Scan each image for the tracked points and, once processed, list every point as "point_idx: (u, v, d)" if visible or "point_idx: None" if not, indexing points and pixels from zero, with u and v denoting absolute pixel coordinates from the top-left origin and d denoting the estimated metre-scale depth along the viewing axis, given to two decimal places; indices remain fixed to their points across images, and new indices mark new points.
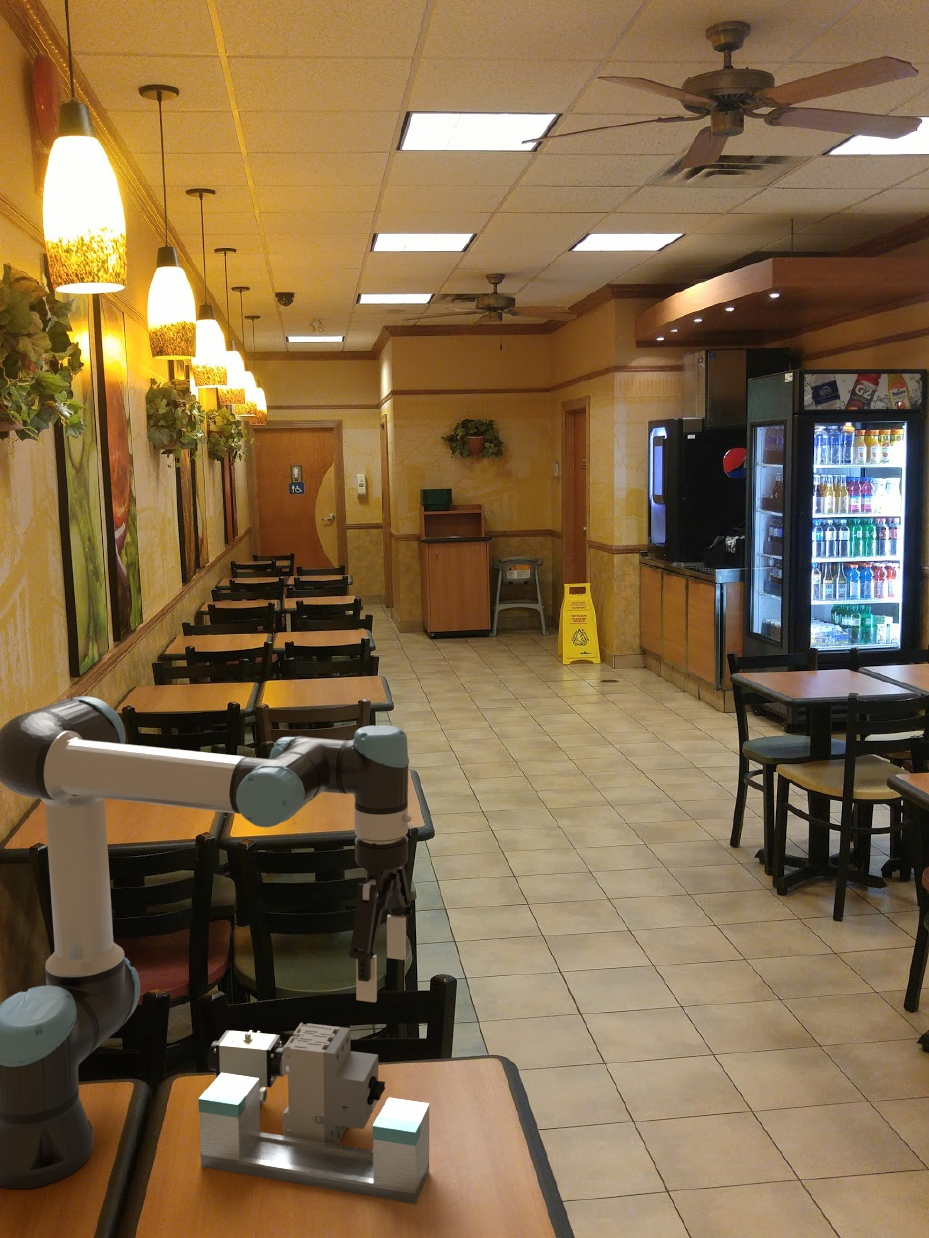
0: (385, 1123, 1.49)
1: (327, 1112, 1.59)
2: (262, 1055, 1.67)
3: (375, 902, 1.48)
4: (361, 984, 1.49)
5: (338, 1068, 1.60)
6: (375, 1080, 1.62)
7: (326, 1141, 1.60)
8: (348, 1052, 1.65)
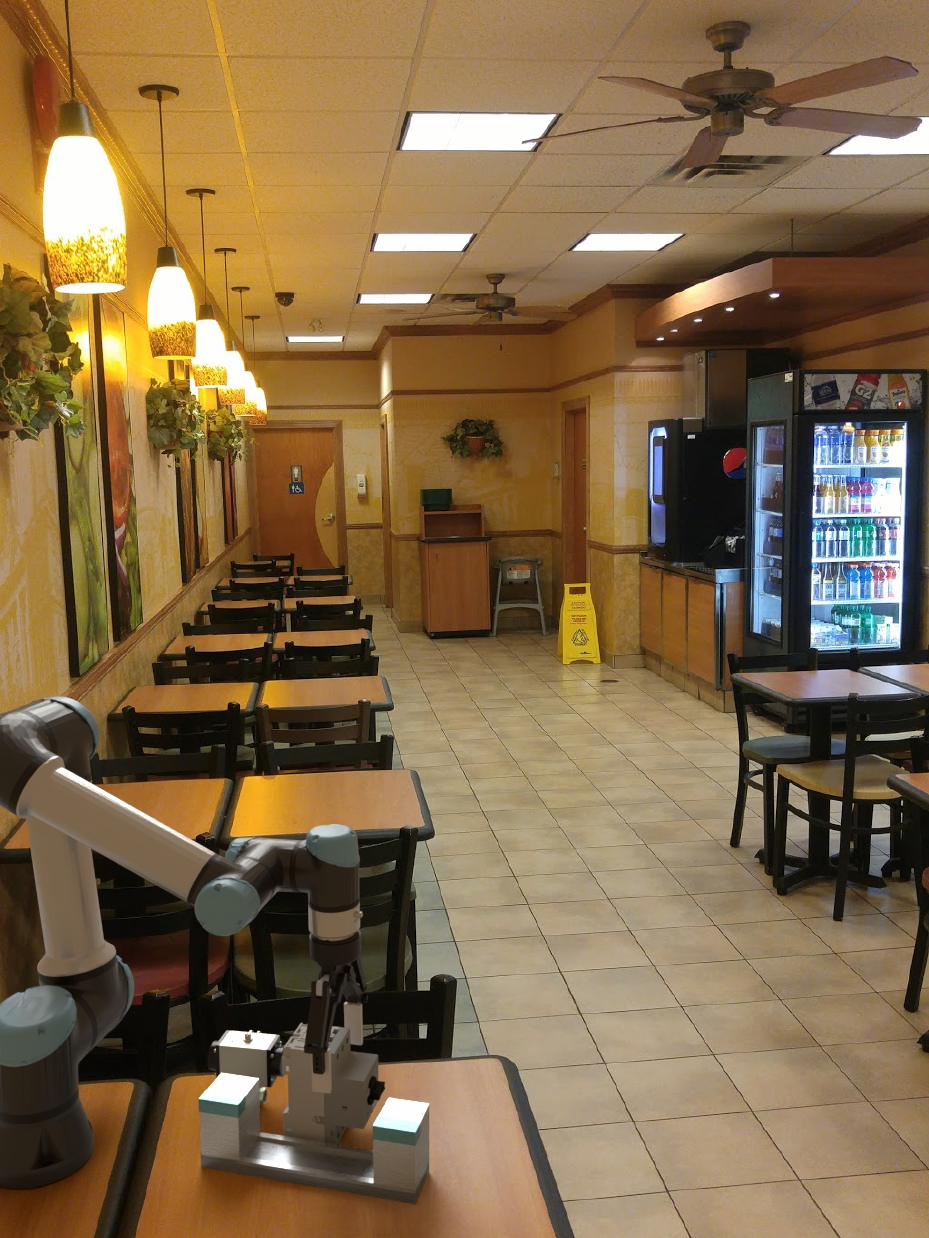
0: (385, 1123, 1.49)
1: (327, 1112, 1.59)
2: (262, 1055, 1.67)
3: (328, 998, 1.54)
4: (316, 1076, 1.55)
5: (338, 1068, 1.60)
6: (375, 1080, 1.62)
7: (326, 1141, 1.60)
8: (348, 1052, 1.65)
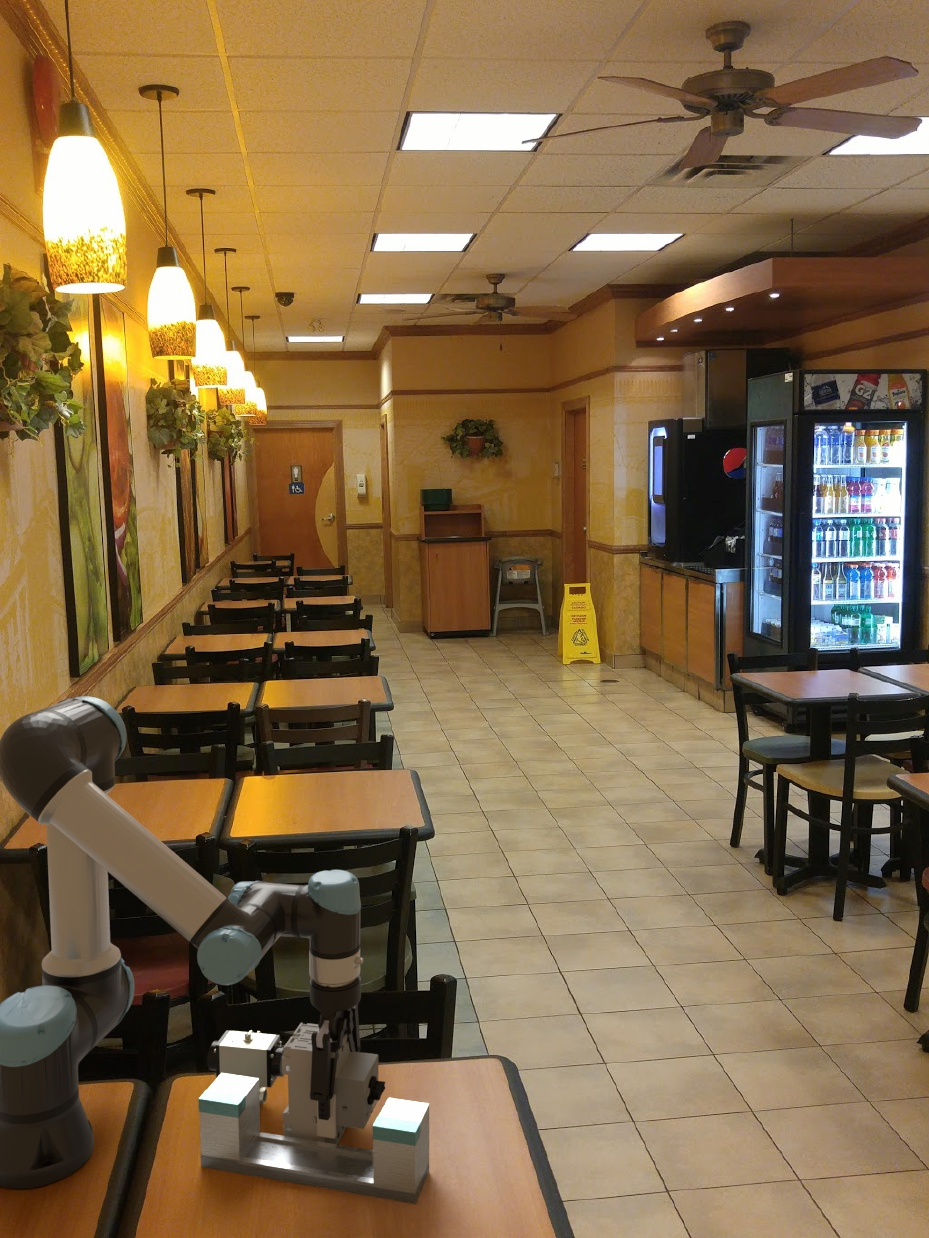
0: (385, 1123, 1.49)
1: None
2: (262, 1055, 1.67)
3: (329, 1048, 1.56)
4: (321, 1122, 1.59)
5: (338, 1068, 1.60)
6: (375, 1080, 1.62)
7: (326, 1141, 1.60)
8: (348, 1052, 1.65)
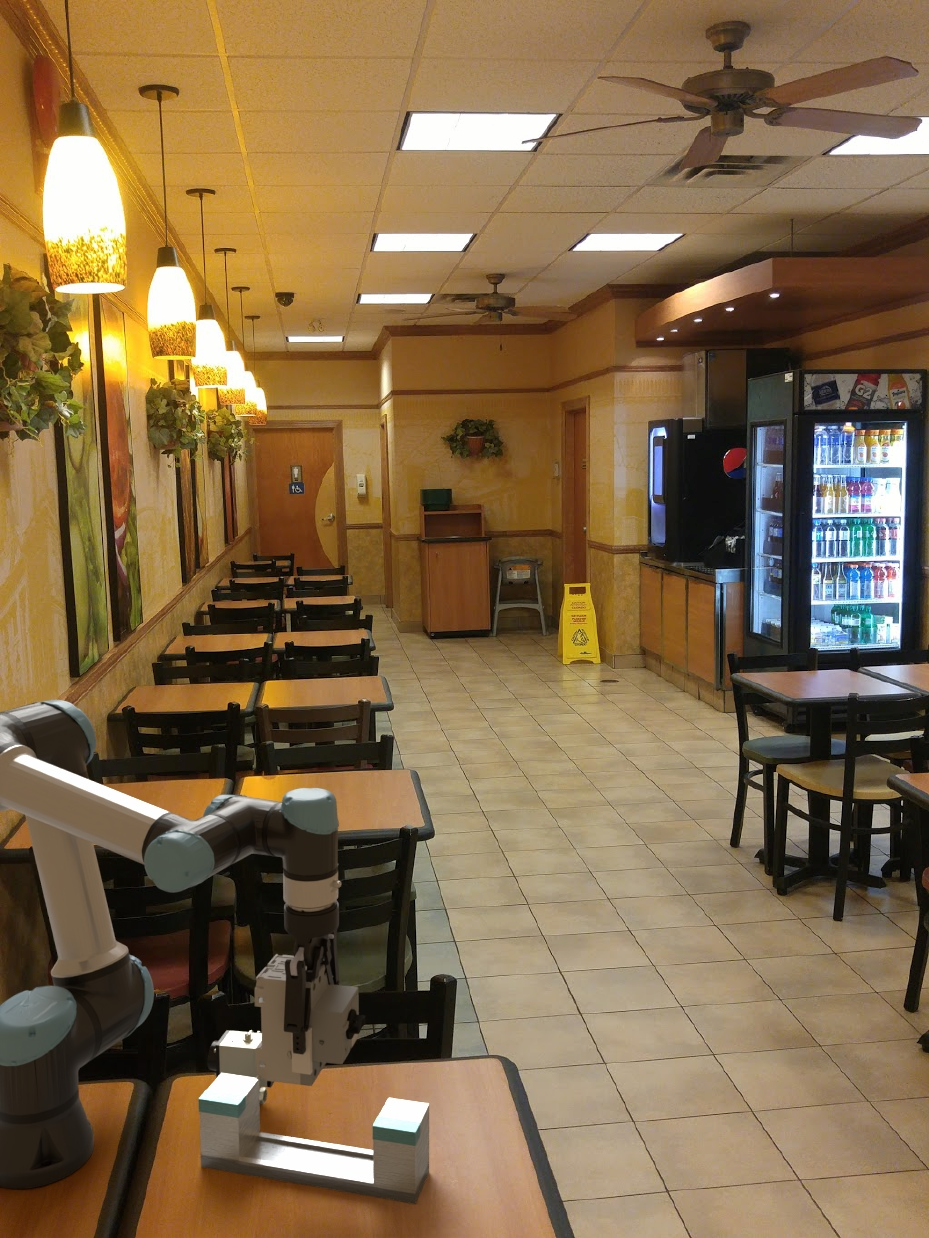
0: (385, 1123, 1.49)
1: None
2: None
3: (304, 976, 1.45)
4: (296, 1057, 1.48)
5: (315, 1000, 1.49)
6: (355, 1013, 1.52)
7: (302, 1078, 1.49)
8: (326, 985, 1.54)
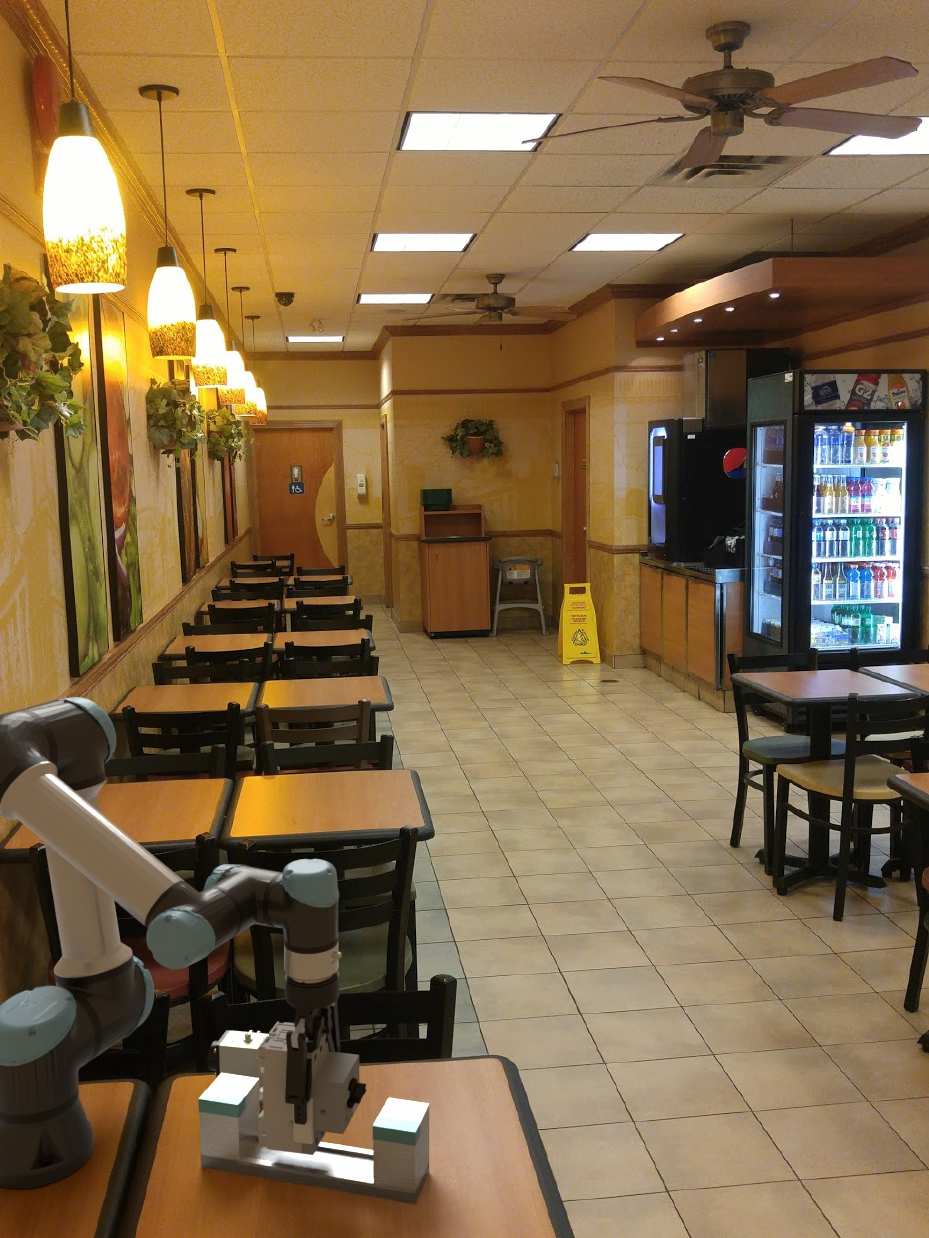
0: (385, 1123, 1.49)
1: None
2: None
3: (305, 1048, 1.46)
4: (297, 1126, 1.50)
5: (316, 1069, 1.51)
6: (356, 1082, 1.53)
7: (303, 1147, 1.51)
8: (327, 1052, 1.55)
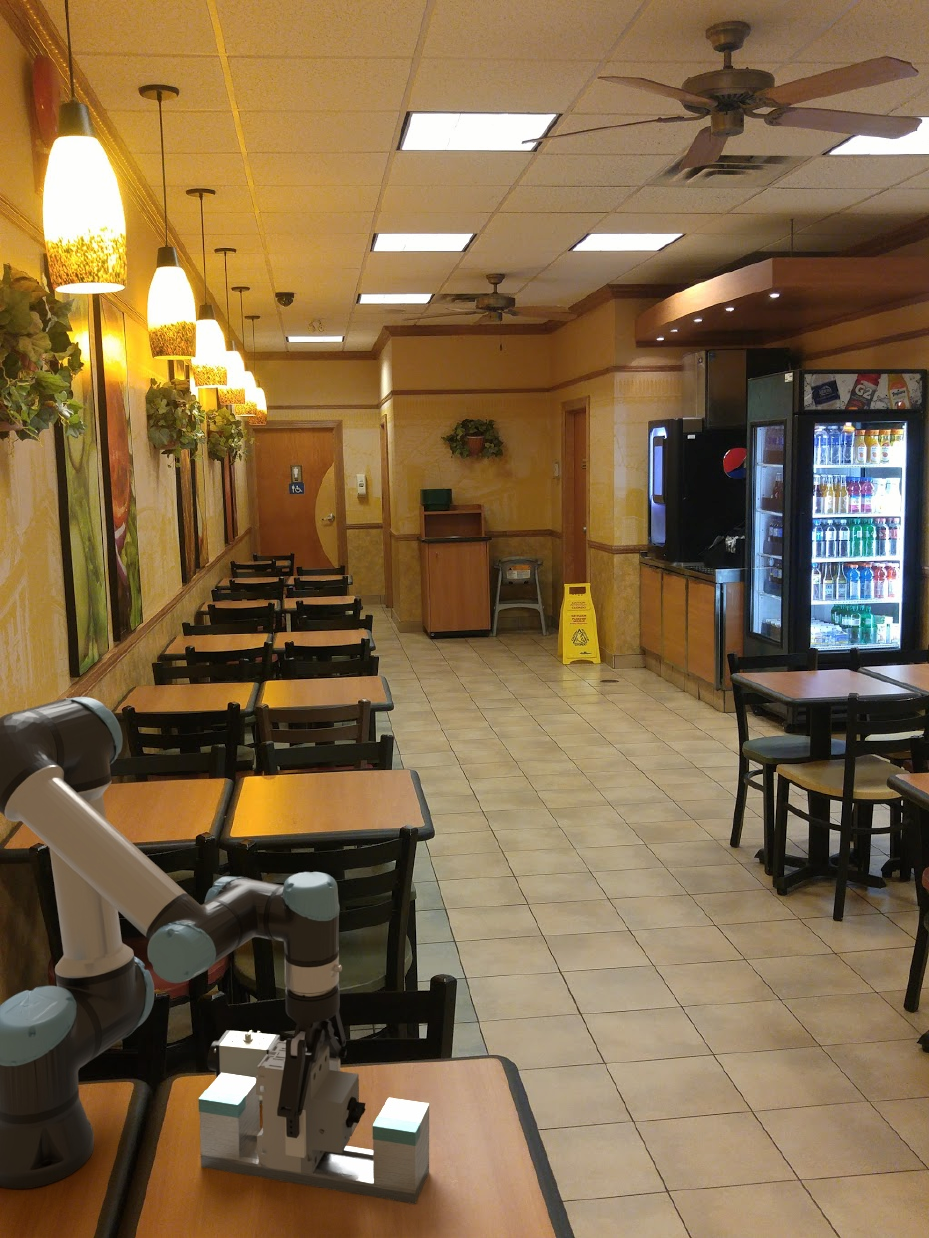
0: (385, 1123, 1.49)
1: None
2: (262, 1055, 1.67)
3: (303, 1057, 1.46)
4: (290, 1139, 1.47)
5: (315, 1088, 1.51)
6: (355, 1101, 1.53)
7: (302, 1166, 1.51)
8: (327, 1071, 1.56)
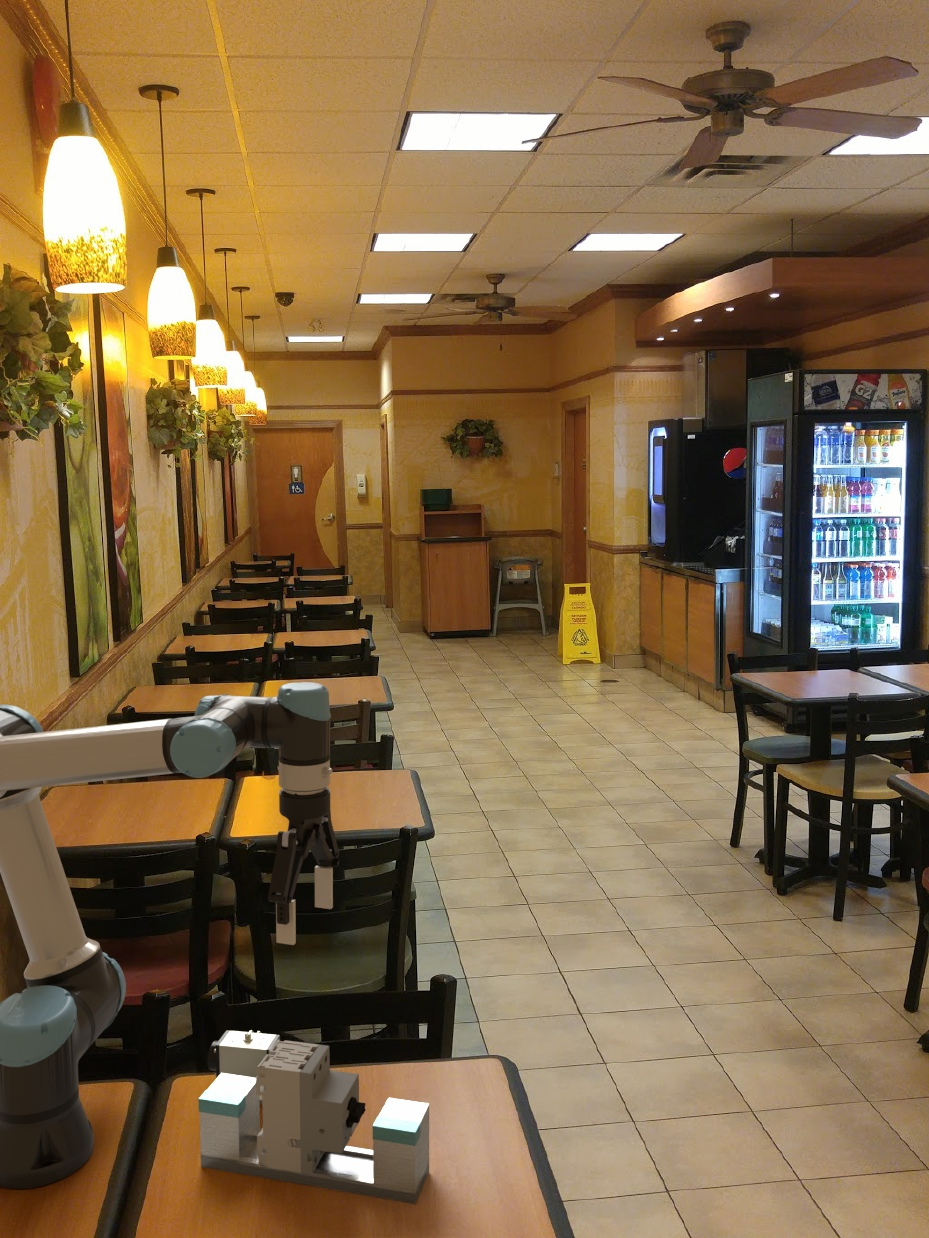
0: (385, 1123, 1.49)
1: (303, 1135, 1.50)
2: (262, 1055, 1.67)
3: (294, 849, 1.55)
4: (280, 928, 1.56)
5: (315, 1089, 1.51)
6: (355, 1101, 1.53)
7: (302, 1166, 1.51)
8: (327, 1071, 1.56)
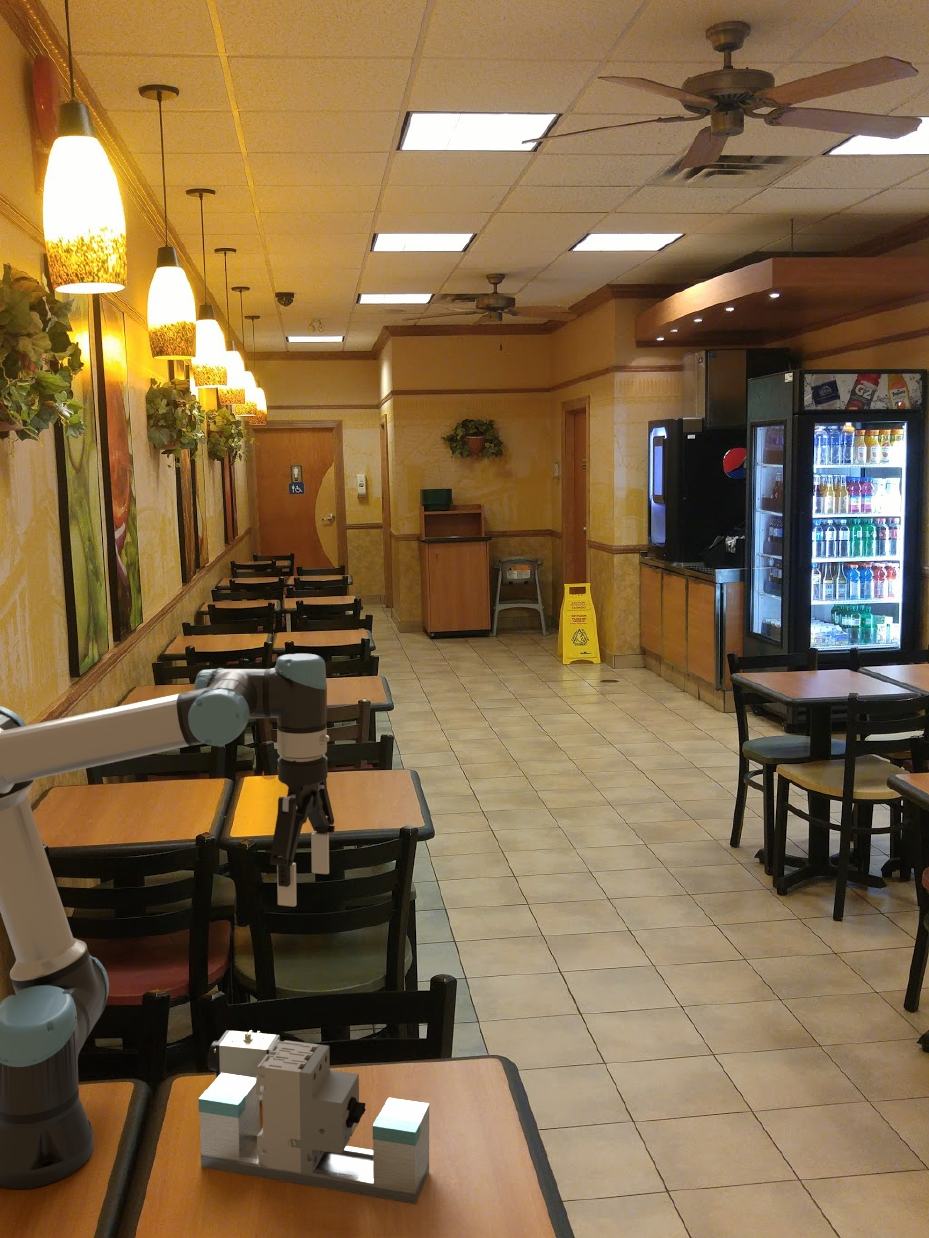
0: (385, 1123, 1.49)
1: (303, 1135, 1.50)
2: (262, 1055, 1.67)
3: (294, 813, 1.60)
4: (281, 890, 1.62)
5: (315, 1089, 1.51)
6: (355, 1101, 1.53)
7: (302, 1166, 1.51)
8: (327, 1071, 1.56)
